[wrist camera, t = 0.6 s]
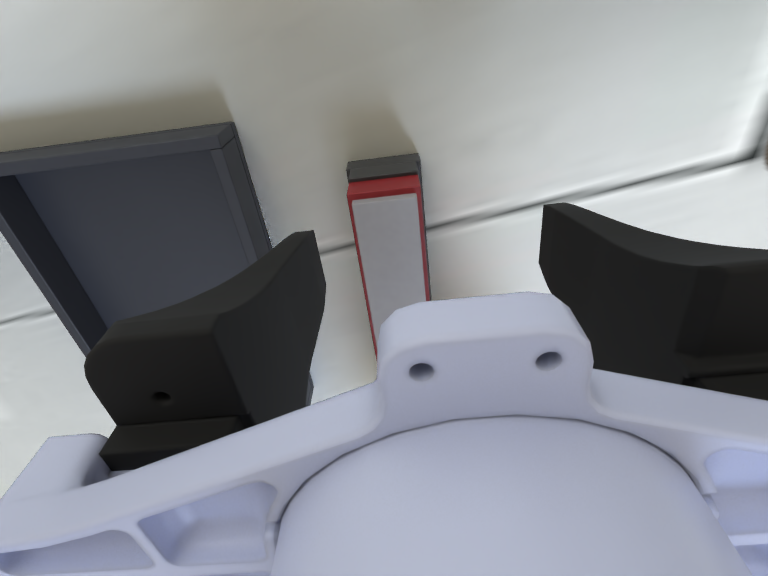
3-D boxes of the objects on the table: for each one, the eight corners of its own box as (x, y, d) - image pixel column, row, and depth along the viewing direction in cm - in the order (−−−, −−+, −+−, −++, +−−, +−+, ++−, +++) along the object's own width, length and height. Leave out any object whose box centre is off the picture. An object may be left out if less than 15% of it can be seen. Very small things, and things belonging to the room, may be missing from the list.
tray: (314, 386, 31) (308, 414, 29) (150, 401, 32) (133, 429, 30) (233, 121, 21) (217, 134, 19) (-2, 152, 22) (-43, 168, 20)
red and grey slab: (434, 348, 29) (441, 399, 25) (380, 352, 29) (379, 404, 25) (418, 152, 22) (425, 184, 18) (347, 161, 22) (340, 194, 18)
